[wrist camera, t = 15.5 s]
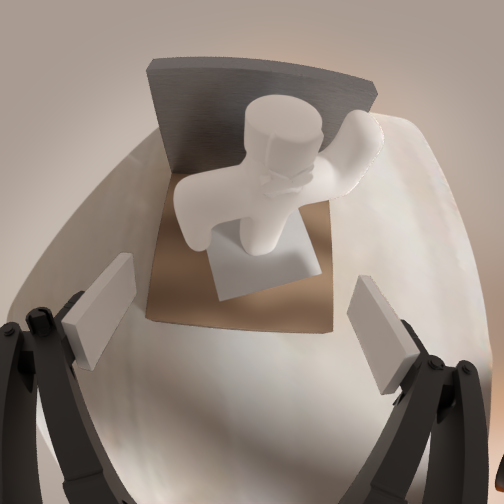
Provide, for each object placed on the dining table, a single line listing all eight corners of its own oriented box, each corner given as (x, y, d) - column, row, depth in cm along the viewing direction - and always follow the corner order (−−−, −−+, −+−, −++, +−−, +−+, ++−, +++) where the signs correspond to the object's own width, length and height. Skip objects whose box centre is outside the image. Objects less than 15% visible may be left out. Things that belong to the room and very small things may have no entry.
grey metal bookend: (327, 187, 26) (377, 93, 14) (171, 173, 25) (145, 70, 14) (326, 174, 26) (372, 81, 15) (175, 161, 25) (153, 59, 14)
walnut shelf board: (323, 333, 23) (333, 331, 21) (153, 321, 23) (145, 317, 20) (319, 188, 29) (326, 174, 26) (178, 175, 28) (175, 161, 25)
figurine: (188, 229, 23) (146, 80, 9) (292, 206, 25) (349, 64, 11) (207, 312, 21) (161, 236, 7) (320, 281, 22) (434, 181, 8)
